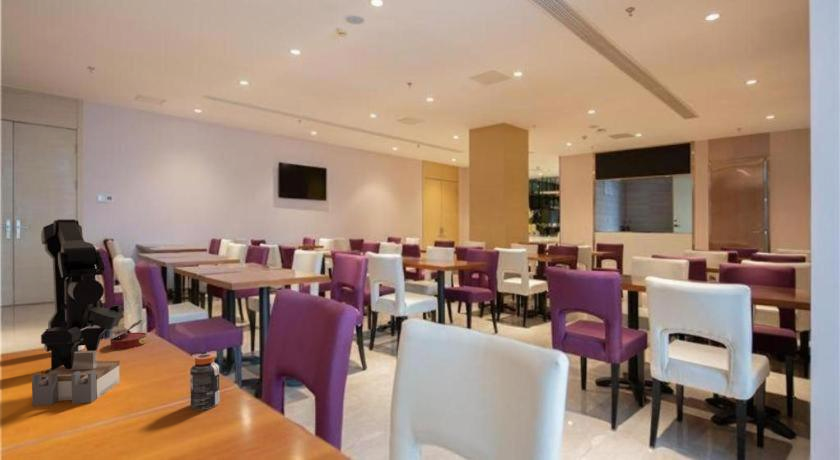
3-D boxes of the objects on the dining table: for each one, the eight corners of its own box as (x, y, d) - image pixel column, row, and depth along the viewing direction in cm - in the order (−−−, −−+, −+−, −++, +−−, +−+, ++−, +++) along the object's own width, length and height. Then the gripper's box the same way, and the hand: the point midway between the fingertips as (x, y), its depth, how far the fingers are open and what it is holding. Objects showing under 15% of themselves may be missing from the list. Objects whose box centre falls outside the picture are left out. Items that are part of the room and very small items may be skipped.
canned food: (127, 363, 141) (112, 340, 136) (111, 355, 146) (95, 332, 141) (159, 340, 149) (146, 317, 144) (143, 333, 154) (130, 311, 149)
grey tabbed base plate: (67, 367, 111) (67, 347, 110) (119, 365, 112) (119, 345, 112) (31, 386, 98) (31, 363, 98) (90, 383, 100) (90, 361, 100)
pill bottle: (225, 401, 102) (225, 353, 101) (205, 412, 96) (204, 361, 96) (205, 397, 104) (204, 350, 103) (184, 408, 98) (183, 358, 98)
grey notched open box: (67, 385, 111) (67, 358, 110) (119, 382, 113) (119, 356, 112) (32, 406, 99) (31, 376, 98) (91, 402, 100) (90, 373, 100)
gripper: (94, 305, 98) (95, 374, 98) (135, 291, 116) (136, 349, 117) (38, 306, 96) (40, 377, 97) (88, 292, 115) (89, 351, 115)
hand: (81, 362), depth 106 cm, fingers open, 9 cm apart
